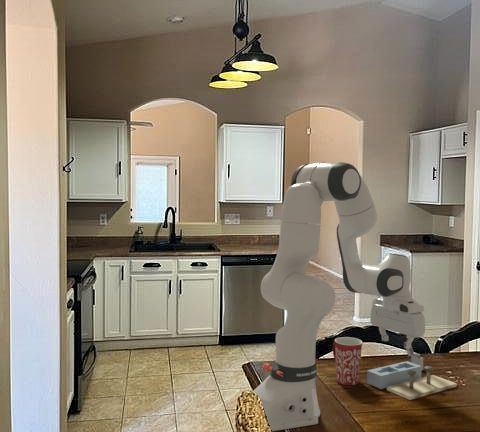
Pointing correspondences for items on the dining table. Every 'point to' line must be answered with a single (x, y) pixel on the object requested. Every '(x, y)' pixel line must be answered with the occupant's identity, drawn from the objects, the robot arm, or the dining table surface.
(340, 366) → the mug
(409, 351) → the lighter
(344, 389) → the dining table surface
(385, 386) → the two-hole block
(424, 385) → the boss board
